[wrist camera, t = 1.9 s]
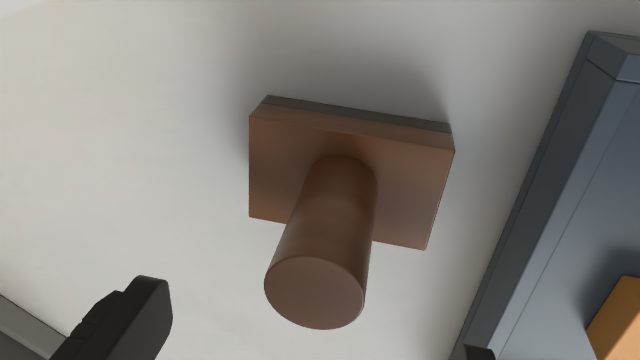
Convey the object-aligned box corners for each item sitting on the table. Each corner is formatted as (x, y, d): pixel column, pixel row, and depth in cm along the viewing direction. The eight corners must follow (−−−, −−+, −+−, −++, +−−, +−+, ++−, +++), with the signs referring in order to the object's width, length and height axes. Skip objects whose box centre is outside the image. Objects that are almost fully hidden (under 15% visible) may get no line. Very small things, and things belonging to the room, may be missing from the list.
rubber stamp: (267, 94, 18) (175, 200, 11) (450, 123, 17) (478, 258, 10) (264, 188, 21) (189, 323, 14) (423, 217, 20) (431, 377, 13)
